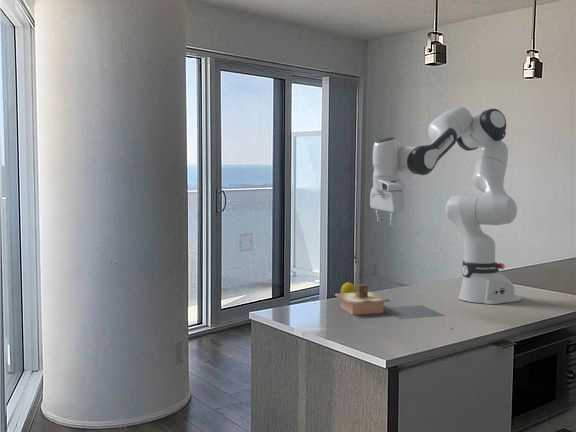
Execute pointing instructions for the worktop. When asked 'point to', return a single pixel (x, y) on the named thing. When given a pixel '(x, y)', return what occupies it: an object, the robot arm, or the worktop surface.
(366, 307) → the salmon open box
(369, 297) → the lid
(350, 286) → the lemon
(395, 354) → the worktop surface
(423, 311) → the mat
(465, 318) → the worktop surface
